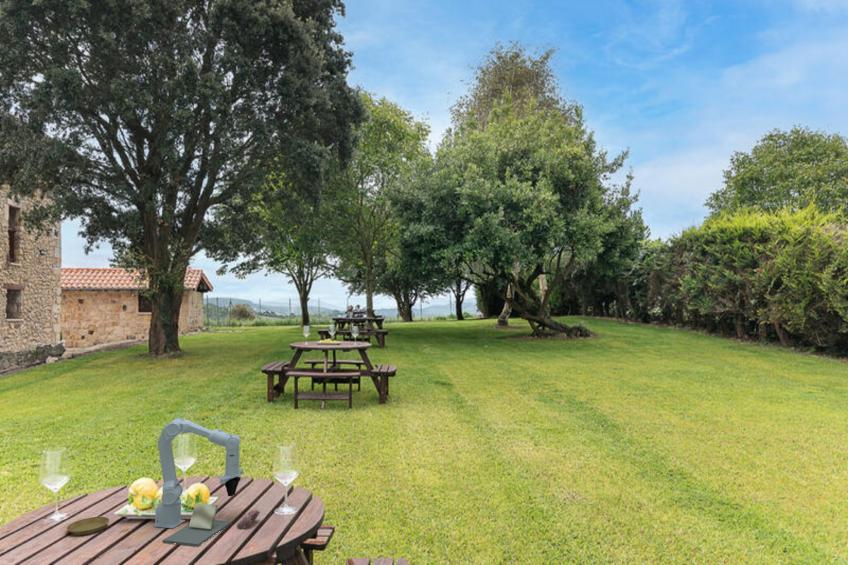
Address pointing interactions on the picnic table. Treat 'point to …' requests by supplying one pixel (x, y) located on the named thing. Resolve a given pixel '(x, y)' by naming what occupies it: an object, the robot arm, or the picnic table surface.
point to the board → (196, 534)
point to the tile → (203, 516)
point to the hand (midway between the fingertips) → (231, 495)
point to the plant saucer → (88, 525)
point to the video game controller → (248, 519)
